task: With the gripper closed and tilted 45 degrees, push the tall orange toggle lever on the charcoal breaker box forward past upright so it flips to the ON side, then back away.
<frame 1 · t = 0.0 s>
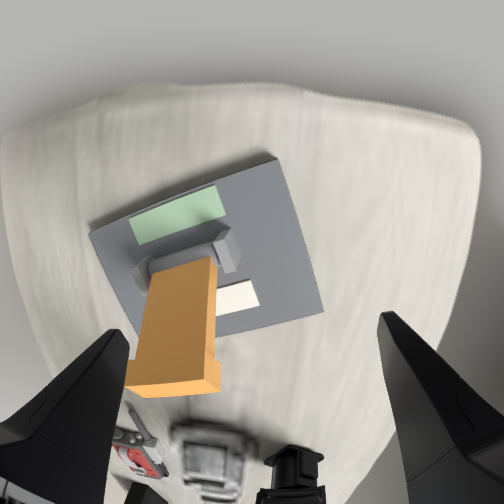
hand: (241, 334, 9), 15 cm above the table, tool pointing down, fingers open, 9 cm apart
breaker lever: (178, 311, 19), point 7 cm above the table, hinge at -25.0°
breaker box: (195, 250, 25), on the table
walkie-talkie: (139, 438, 38), on the table
digital camera: (149, 491, 47), on the table
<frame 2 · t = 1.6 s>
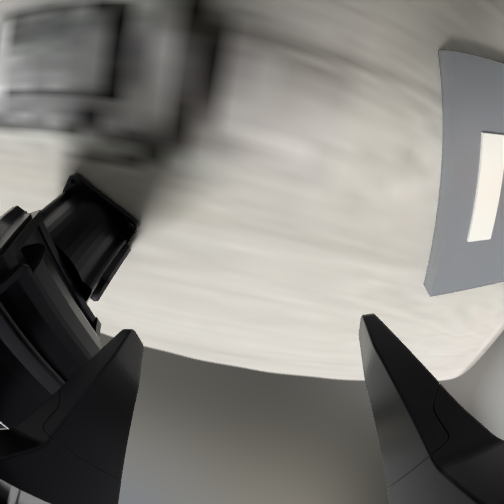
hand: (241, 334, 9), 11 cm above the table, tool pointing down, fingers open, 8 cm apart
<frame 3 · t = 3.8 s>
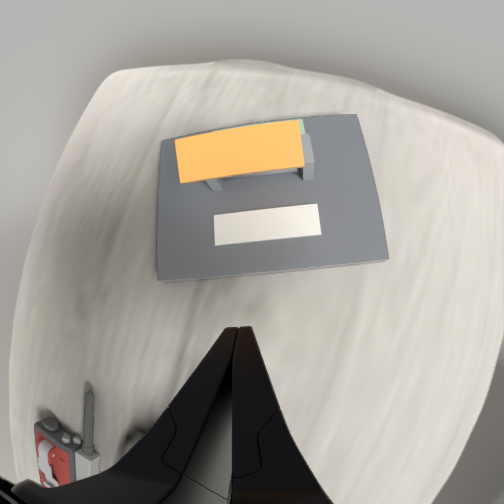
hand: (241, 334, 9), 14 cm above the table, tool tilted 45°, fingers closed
breaker lever: (252, 159, 17), point 7 cm above the table, hinge at -25.0°
breaker box: (263, 179, 25), on the table
walkie-talkie: (74, 448, 23), on the table
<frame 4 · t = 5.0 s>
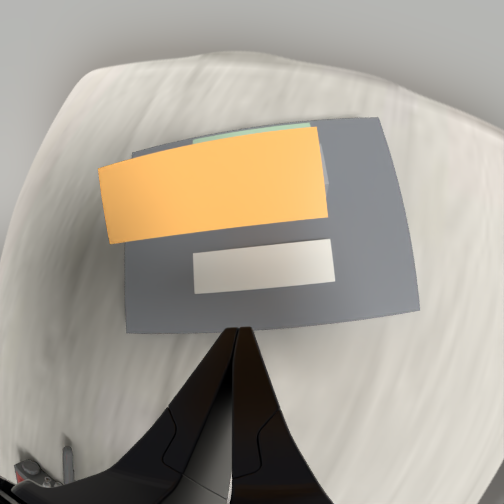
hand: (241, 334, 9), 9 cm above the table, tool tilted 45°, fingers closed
breaker lever: (239, 184, 12), point 7 cm above the table, hinge at -25.0°
breaker box: (259, 202, 19), on the table
walkie-talkie: (57, 491, 17), on the table
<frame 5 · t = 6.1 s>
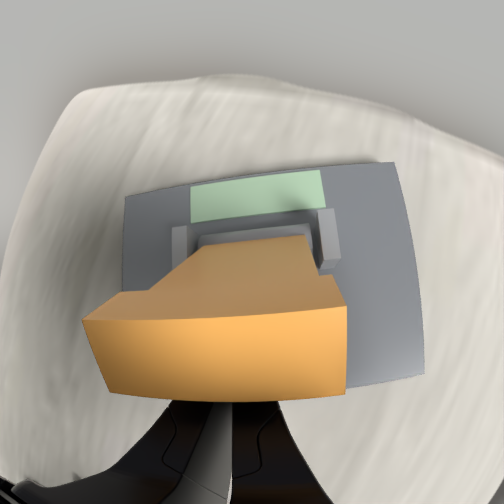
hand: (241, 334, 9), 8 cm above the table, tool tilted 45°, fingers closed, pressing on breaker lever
breaker lever: (243, 276, 11), point 7 cm above the table, hinge at -24.9°, touching gripper
breaker box: (263, 259, 18), on the table
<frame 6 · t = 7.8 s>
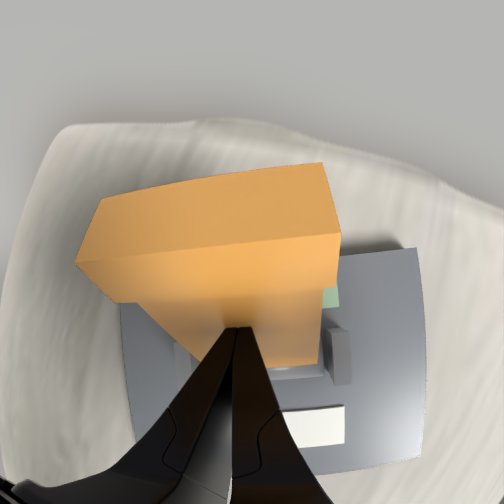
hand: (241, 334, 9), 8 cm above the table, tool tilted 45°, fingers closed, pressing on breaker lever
breaker lever: (246, 324, 10), point 7 cm above the table, hinge at 26.4°, touching gripper
breaker box: (270, 351, 17), on the table
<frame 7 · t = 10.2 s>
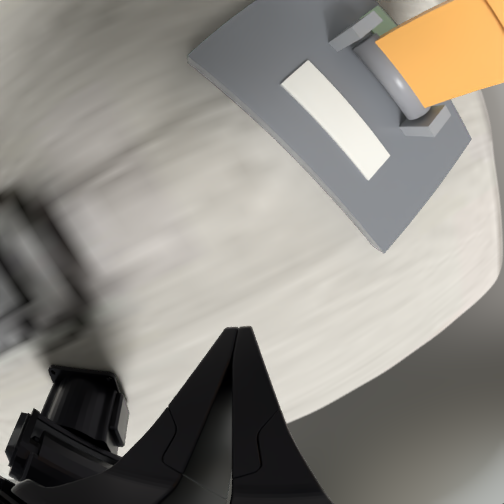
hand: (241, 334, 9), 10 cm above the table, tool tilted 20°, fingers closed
breaker lever: (452, 49, 10), point 7 cm above the table, hinge at 26.5°
breaker box: (368, 83, 17), on the table
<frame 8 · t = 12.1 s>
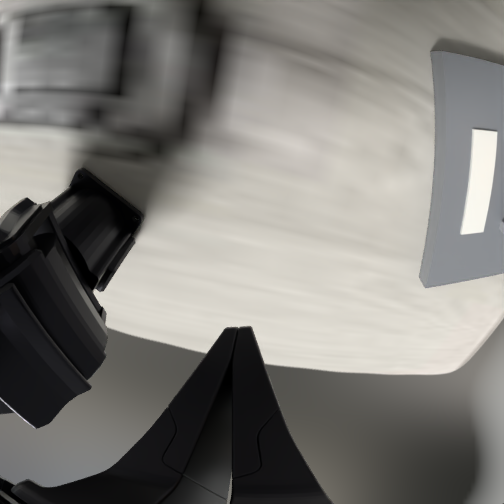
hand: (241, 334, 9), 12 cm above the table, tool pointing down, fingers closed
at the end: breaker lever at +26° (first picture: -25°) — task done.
